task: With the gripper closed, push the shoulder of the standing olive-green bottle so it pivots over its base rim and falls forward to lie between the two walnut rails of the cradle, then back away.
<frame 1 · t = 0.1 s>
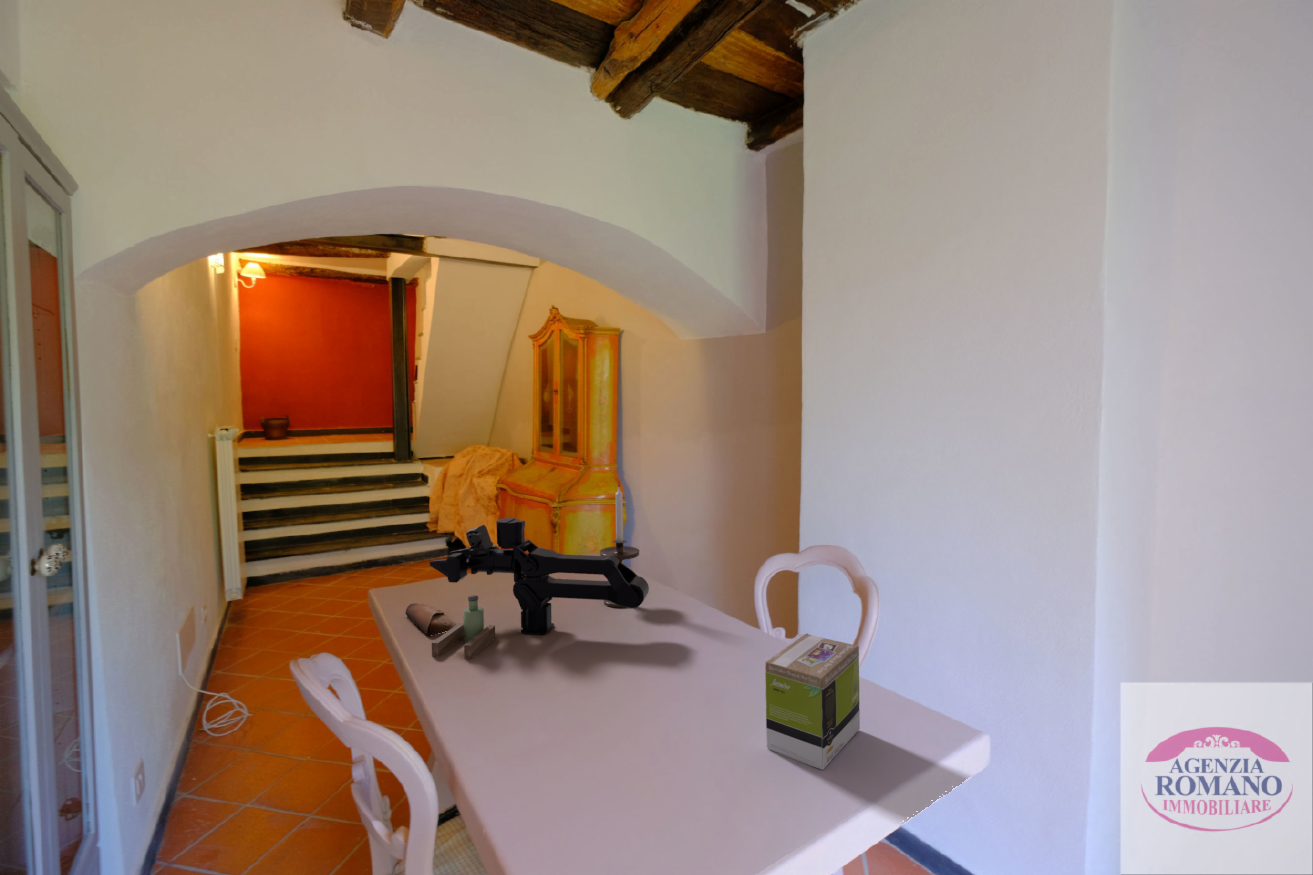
hand: (440, 558, 153), 17 cm above the table, tool horizontal, fingers open, 9 cm apart
tea box: (813, 740, 100), on the table
cradle: (464, 646, 139), on the table
sunglasses case: (432, 625, 155), on the table
candlestick: (620, 603, 169), on the table
bottle: (474, 639, 144), on the table
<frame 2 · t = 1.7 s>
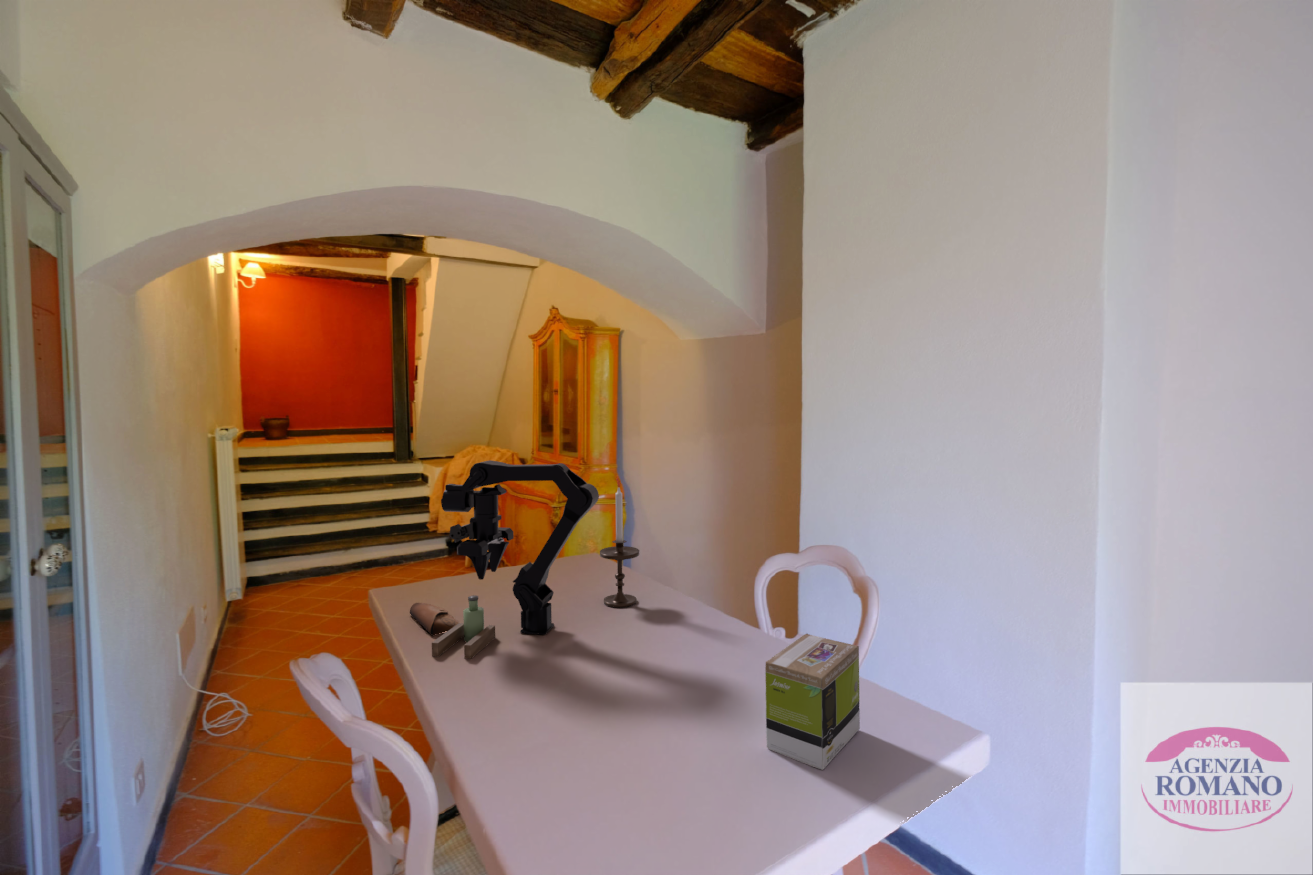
hand: (487, 575, 150), 13 cm above the table, tool pointing down, fingers open, 6 cm apart
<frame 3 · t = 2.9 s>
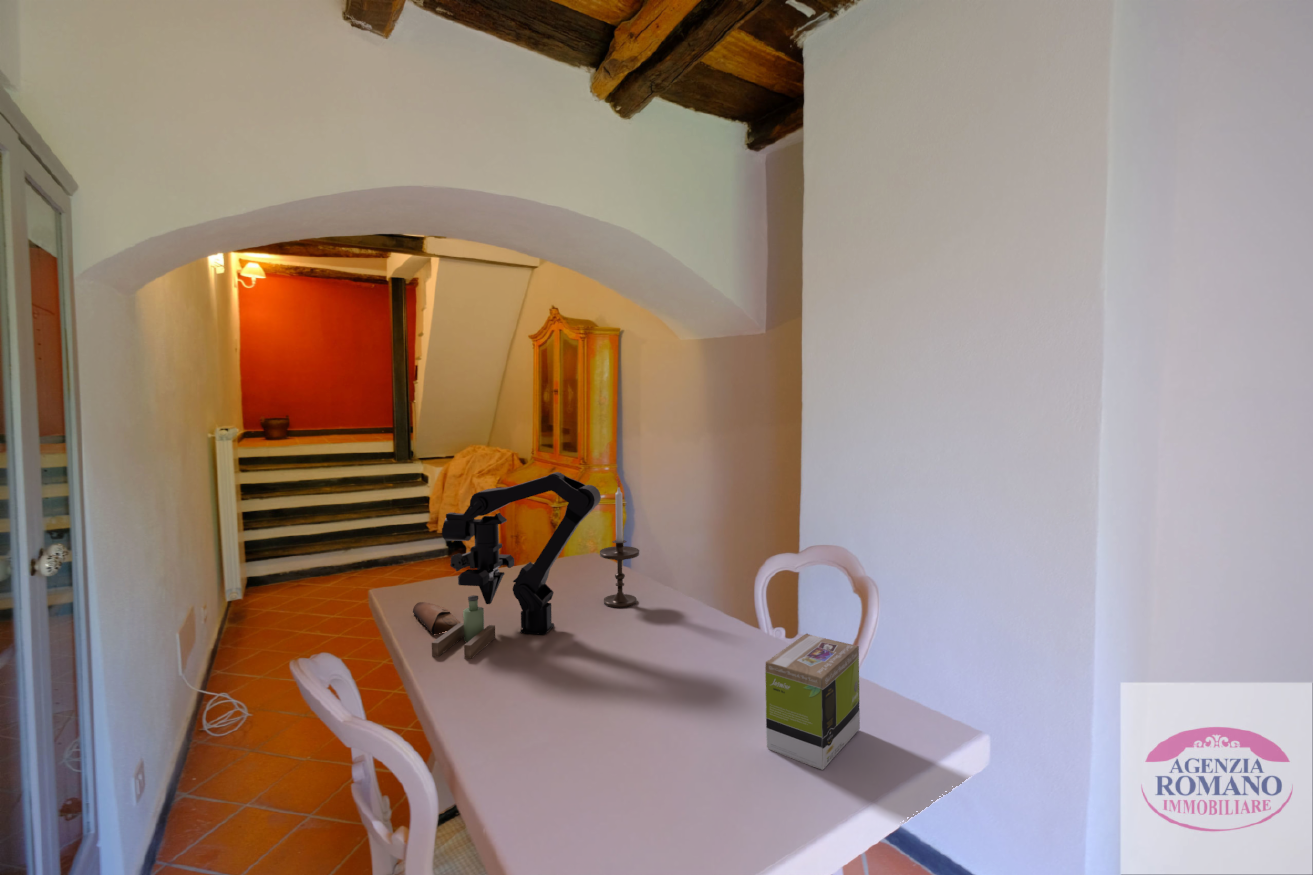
hand: (488, 603, 151), 6 cm above the table, tool pointing down, fingers closed
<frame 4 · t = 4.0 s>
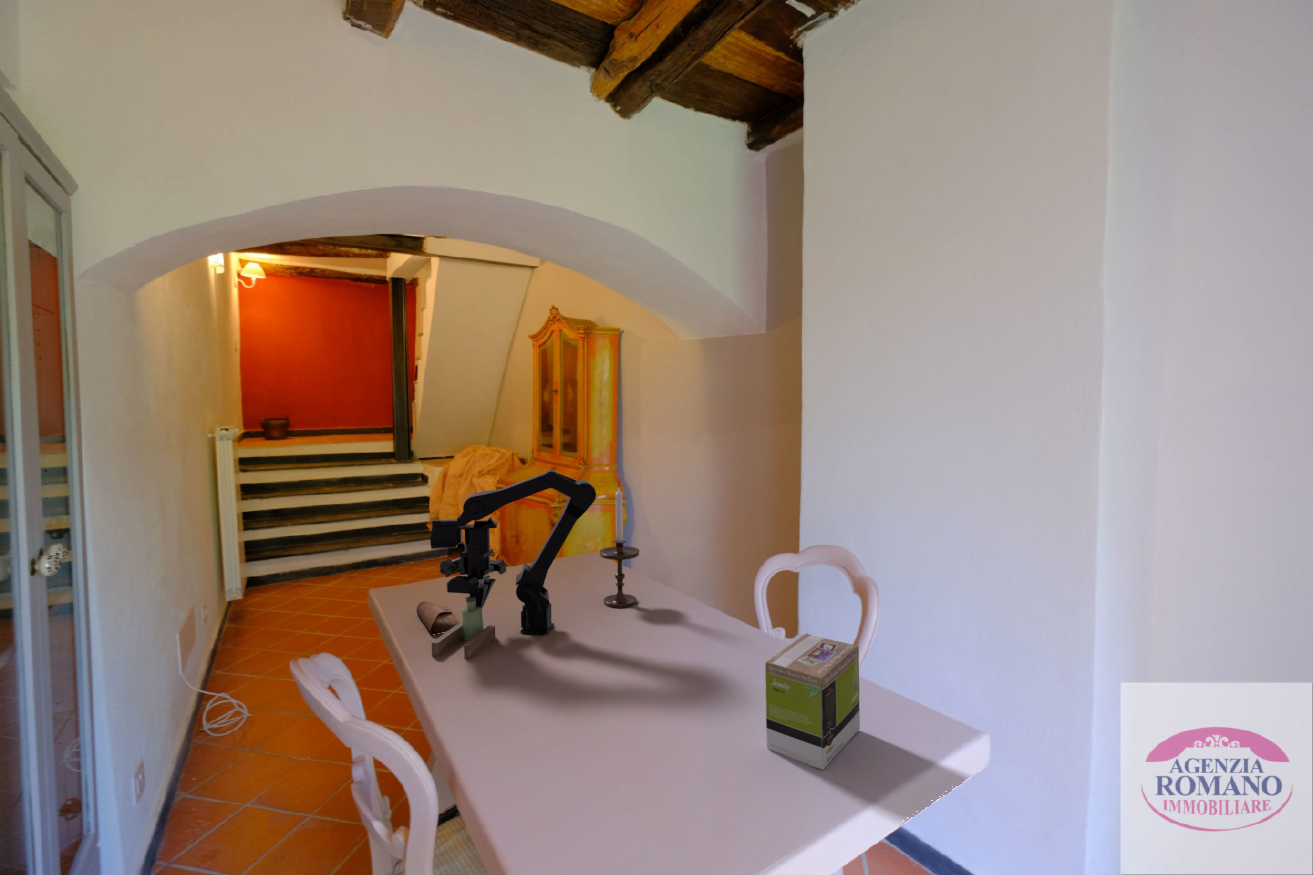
hand: (478, 611, 146), 6 cm above the table, tool pointing down, fingers closed
bottle: (474, 638, 144), on the table, tilted 6°, touching gripper
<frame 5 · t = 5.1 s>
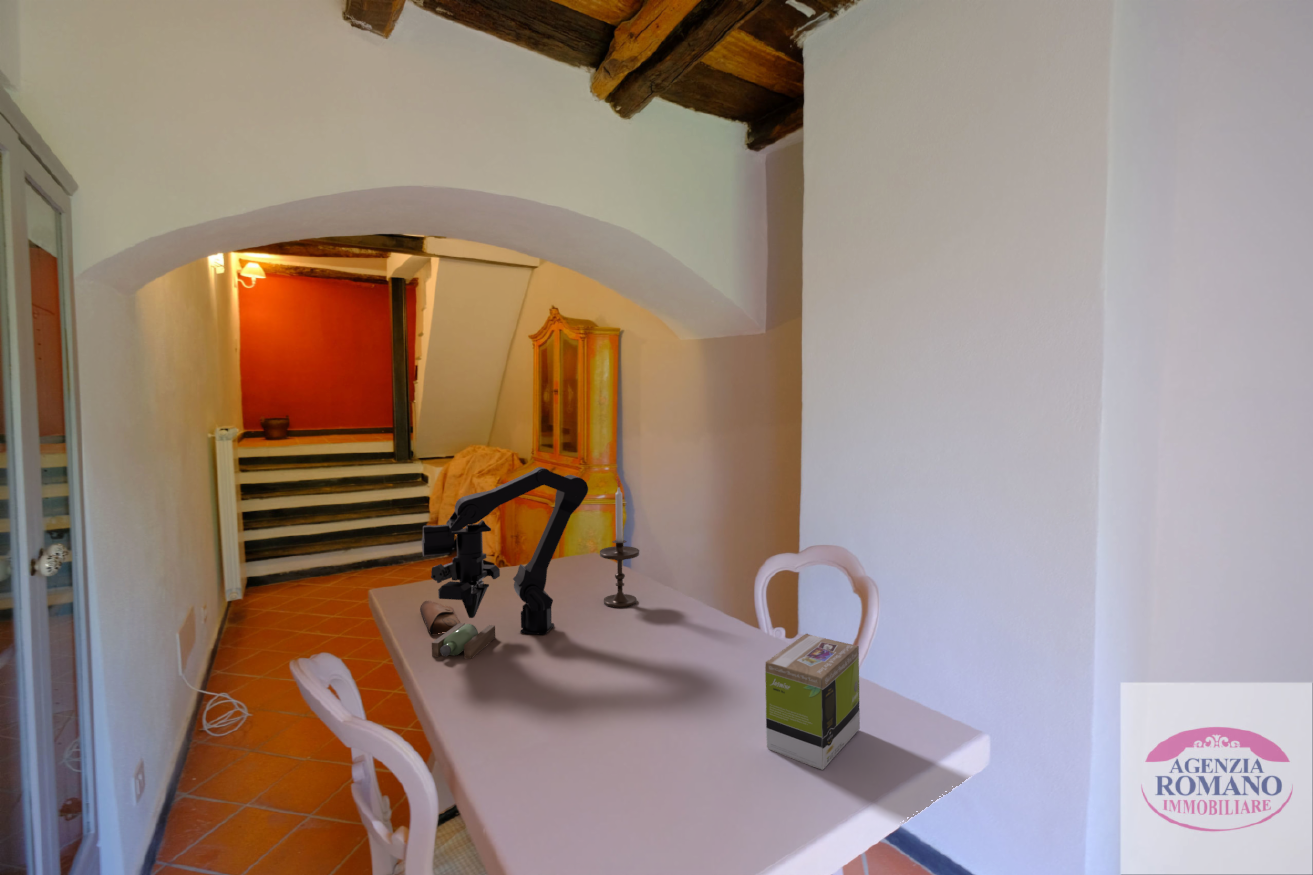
hand: (471, 617, 143), 5 cm above the table, tool pointing down, fingers closed
bottle: (469, 633, 141), point 2 cm above the table, tilted 90°
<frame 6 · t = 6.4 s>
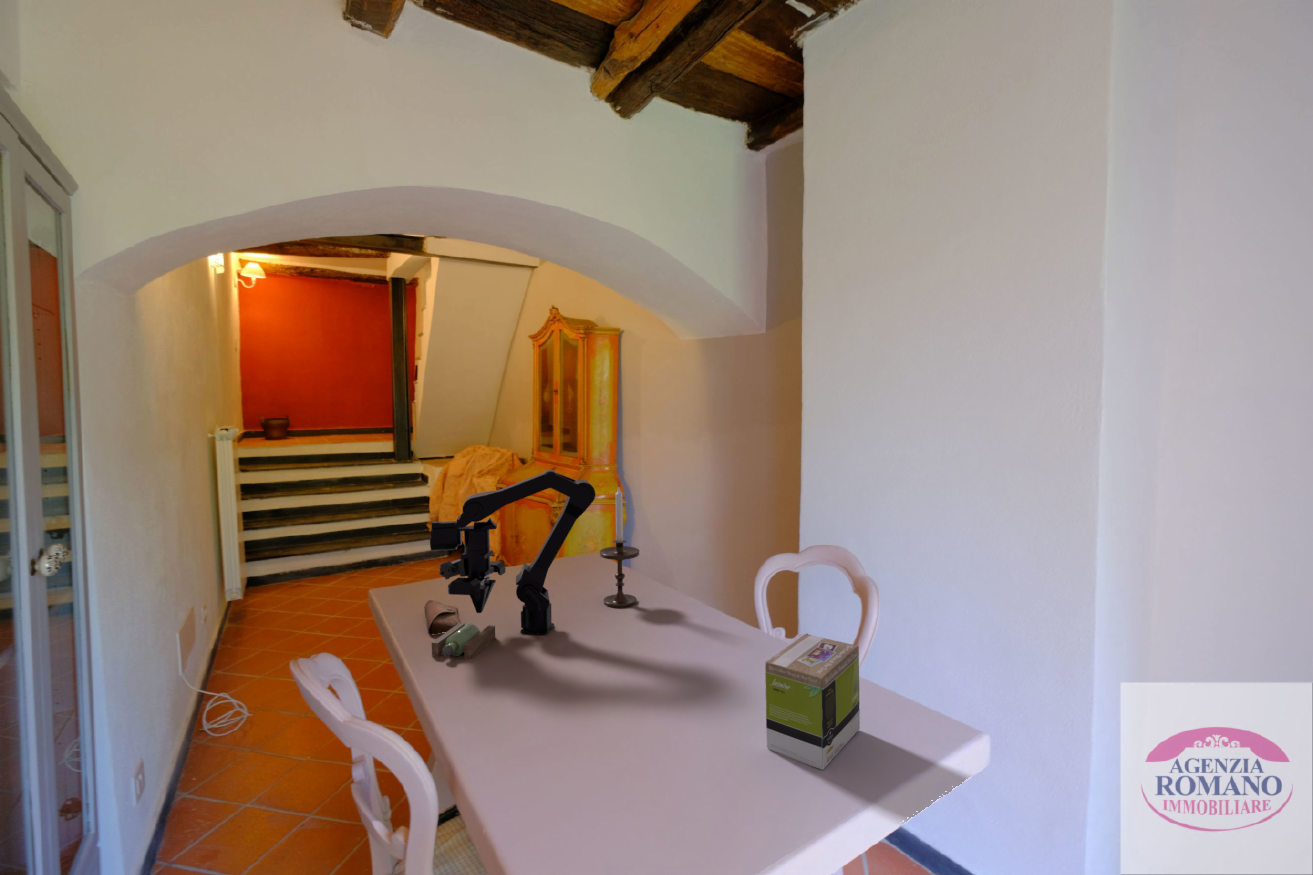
hand: (479, 612, 146), 5 cm above the table, tool pointing down, fingers closed
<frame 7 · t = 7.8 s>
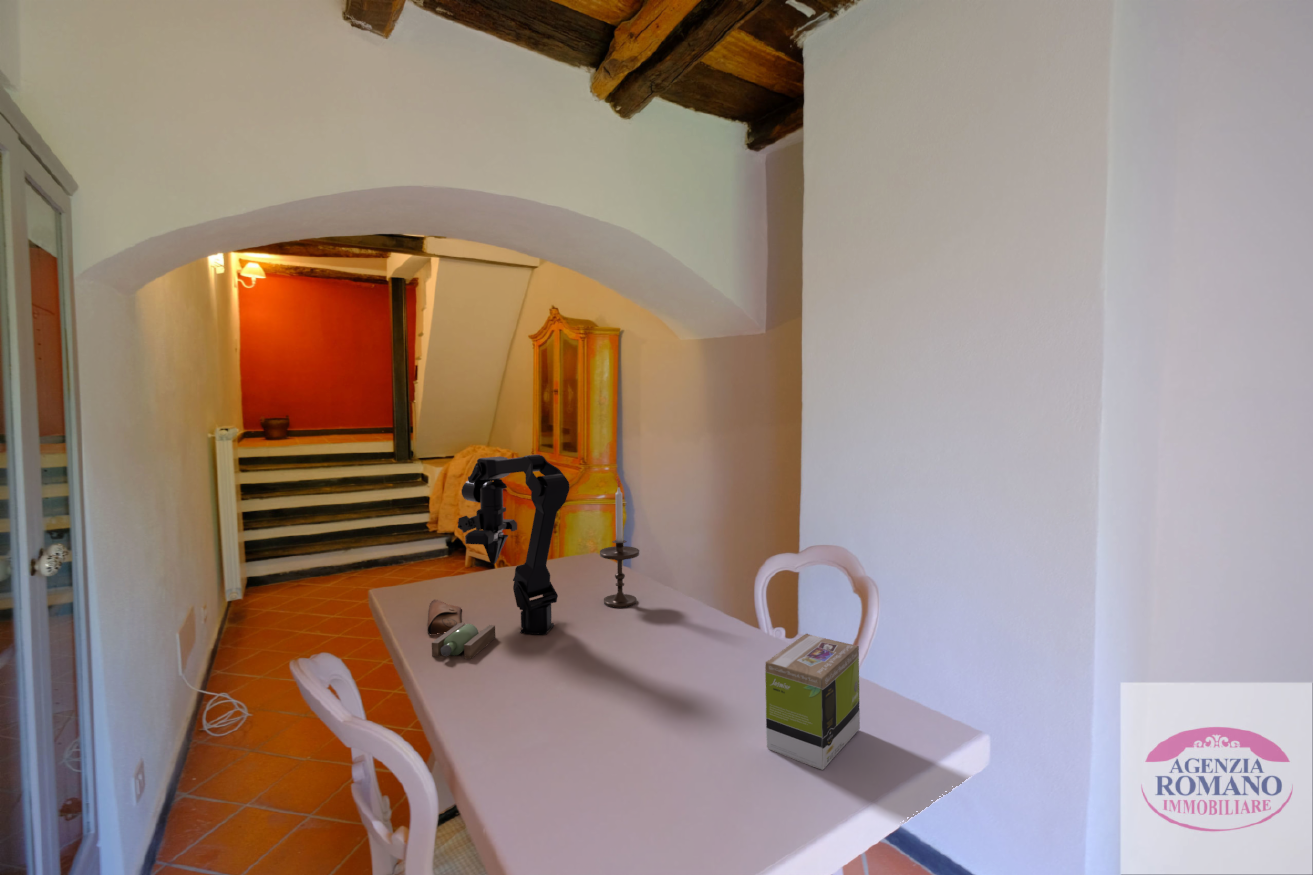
hand: (493, 563, 161), 13 cm above the table, tool pointing down, fingers closed
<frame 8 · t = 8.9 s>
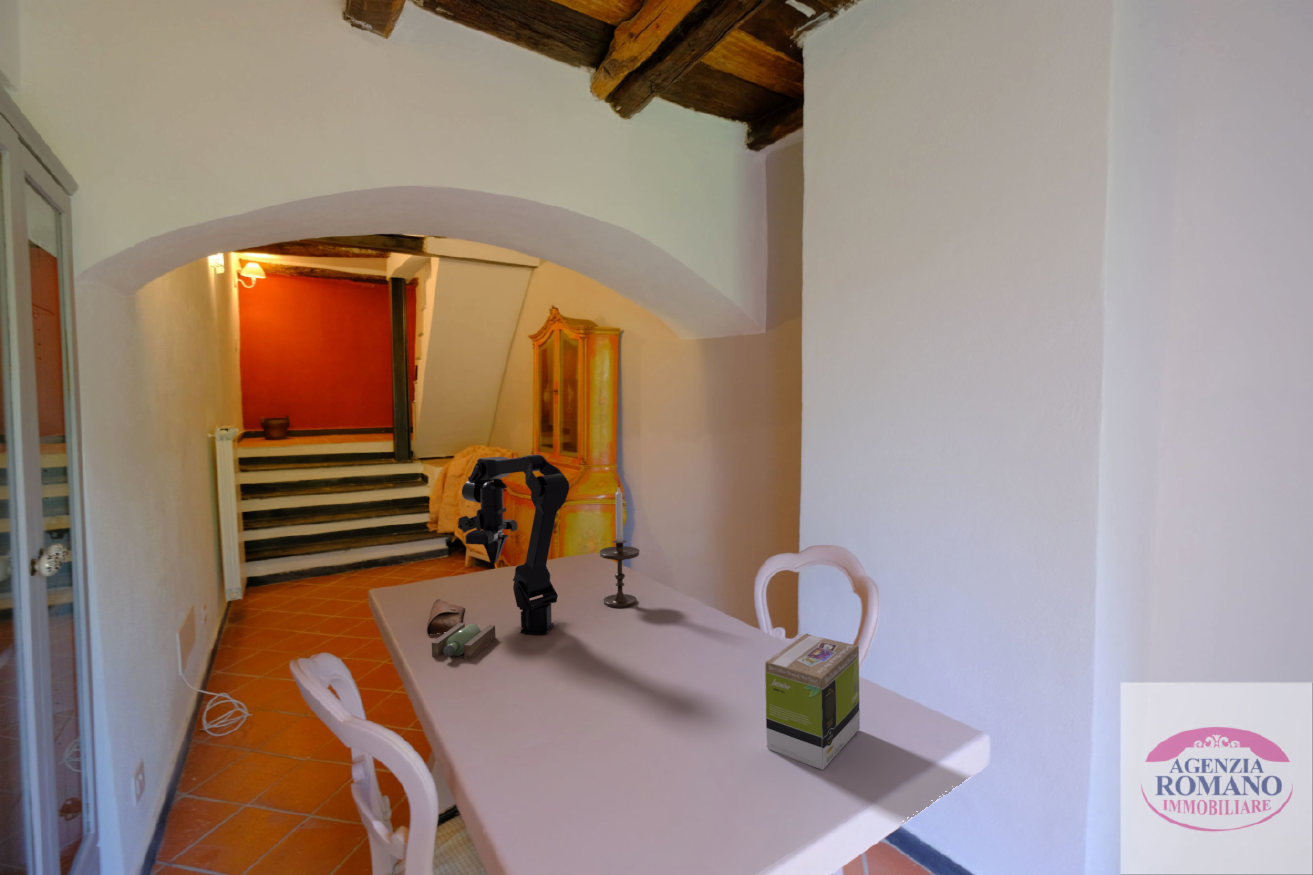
hand: (493, 563, 161), 13 cm above the table, tool pointing down, fingers closed
at the end: bottle tilted 90°; bottle inside the target area on the cradle (1.4 cm from its centre), point 2.2 cm above the cradle's base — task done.
